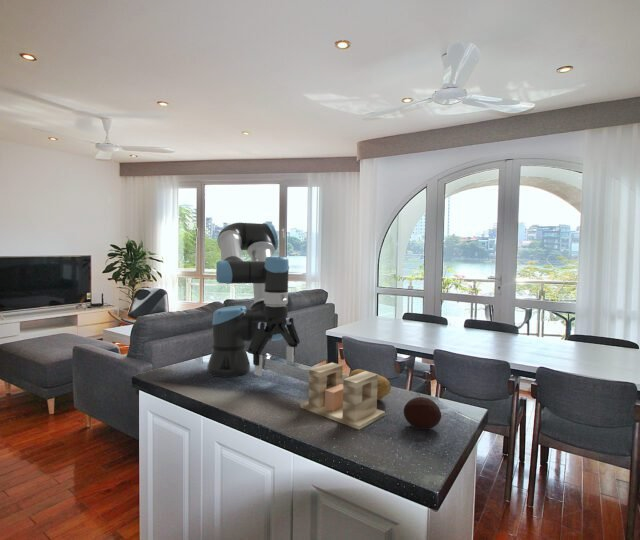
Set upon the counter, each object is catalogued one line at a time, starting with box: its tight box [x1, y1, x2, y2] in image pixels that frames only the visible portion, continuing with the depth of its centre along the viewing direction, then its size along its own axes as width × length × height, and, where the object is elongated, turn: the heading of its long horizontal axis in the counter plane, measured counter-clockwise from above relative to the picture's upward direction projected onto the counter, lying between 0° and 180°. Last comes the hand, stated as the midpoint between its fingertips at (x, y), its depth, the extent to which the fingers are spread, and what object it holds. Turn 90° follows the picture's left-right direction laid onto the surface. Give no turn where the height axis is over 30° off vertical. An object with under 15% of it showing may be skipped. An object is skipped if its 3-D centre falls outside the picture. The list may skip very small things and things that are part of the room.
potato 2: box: [403, 396, 442, 431], centre depth 98 cm, size 8×9×8 cm
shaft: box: [261, 352, 330, 385], centre depth 119 cm, size 26×5×5 cm, turn 49°
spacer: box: [325, 383, 343, 411], centre depth 108 cm, size 5×7×3 cm
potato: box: [348, 368, 392, 401], centre depth 117 cm, size 10×14×8 cm
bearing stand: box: [300, 362, 386, 430], centre depth 107 cm, size 20×12×11 cm, turn 49°
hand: (274, 370), depth 125 cm, fingers open, 13 cm apart
